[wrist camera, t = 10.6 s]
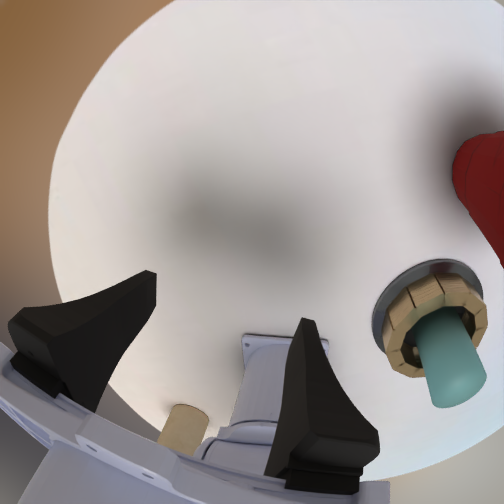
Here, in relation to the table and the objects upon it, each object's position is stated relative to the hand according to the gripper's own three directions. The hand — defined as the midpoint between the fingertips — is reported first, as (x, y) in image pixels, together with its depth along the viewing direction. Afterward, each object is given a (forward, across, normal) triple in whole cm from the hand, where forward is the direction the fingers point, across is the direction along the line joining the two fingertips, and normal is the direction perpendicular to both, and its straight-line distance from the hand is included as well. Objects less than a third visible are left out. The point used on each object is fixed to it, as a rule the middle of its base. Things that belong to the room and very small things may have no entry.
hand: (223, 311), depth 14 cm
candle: (+10, +3, +30) cm, 32 cm away
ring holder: (+9, -16, +3) cm, 19 cm away
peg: (+9, -16, +3) cm, 19 cm away
